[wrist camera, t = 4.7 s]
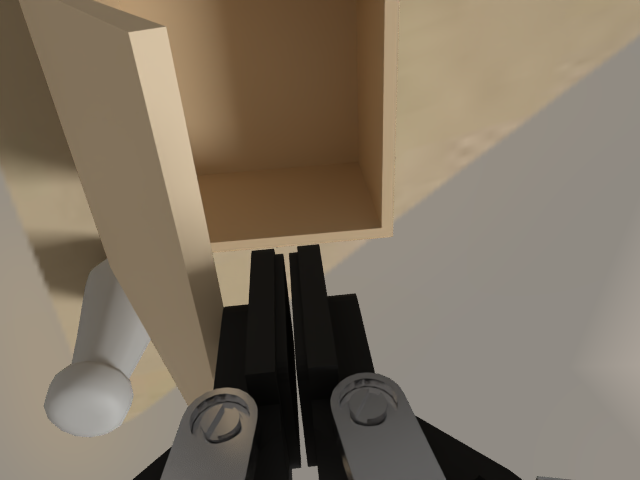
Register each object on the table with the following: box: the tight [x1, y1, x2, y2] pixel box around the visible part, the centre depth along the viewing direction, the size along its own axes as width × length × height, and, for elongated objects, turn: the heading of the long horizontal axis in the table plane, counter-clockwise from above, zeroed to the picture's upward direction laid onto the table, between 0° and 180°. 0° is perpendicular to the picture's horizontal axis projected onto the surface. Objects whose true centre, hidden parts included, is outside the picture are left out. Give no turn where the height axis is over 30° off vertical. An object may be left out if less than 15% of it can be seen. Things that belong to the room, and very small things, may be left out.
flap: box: [19, 0, 224, 406], centre depth 17 cm, size 15×13×1 cm
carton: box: [94, 0, 400, 253], centre depth 26 cm, size 14×13×9 cm
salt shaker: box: [44, 259, 151, 437], centre depth 32 cm, size 6×6×13 cm
